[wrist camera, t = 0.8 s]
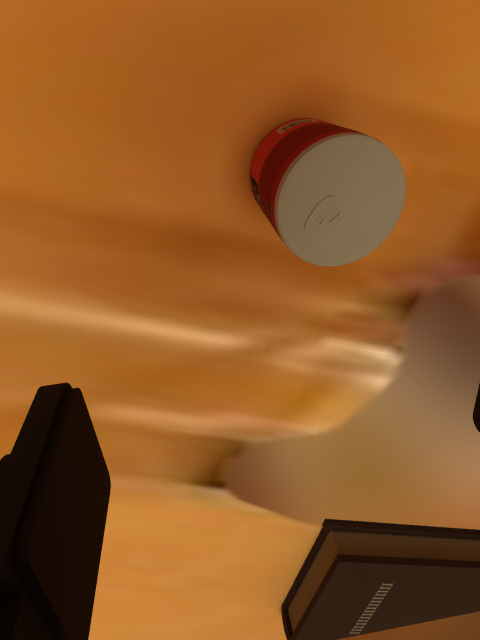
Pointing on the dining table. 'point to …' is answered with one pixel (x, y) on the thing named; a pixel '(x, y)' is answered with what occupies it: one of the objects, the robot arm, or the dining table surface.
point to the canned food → (327, 190)
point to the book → (382, 579)
